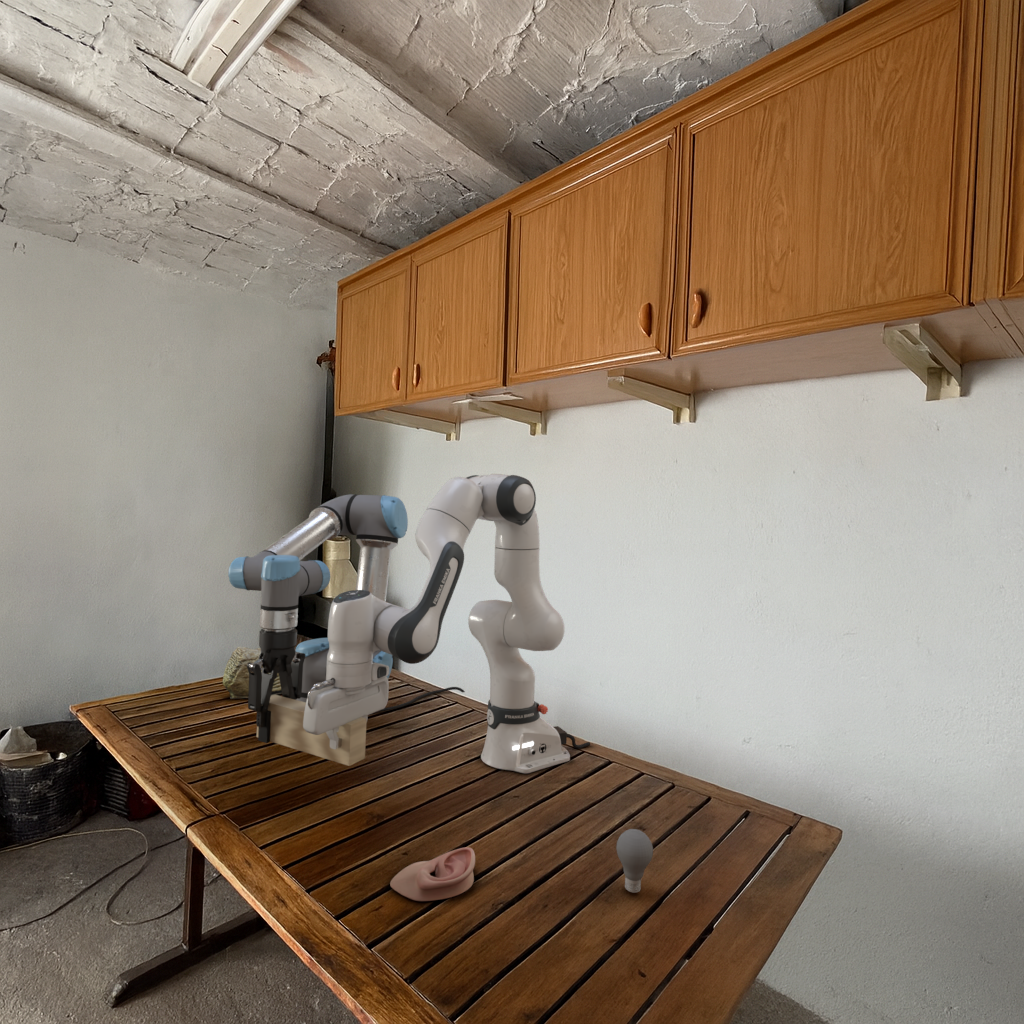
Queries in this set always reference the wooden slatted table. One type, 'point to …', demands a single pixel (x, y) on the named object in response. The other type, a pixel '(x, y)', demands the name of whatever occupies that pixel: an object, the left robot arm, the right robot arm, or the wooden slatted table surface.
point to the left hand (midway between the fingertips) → (274, 737)
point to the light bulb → (634, 857)
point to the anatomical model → (437, 876)
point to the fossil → (243, 673)
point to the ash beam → (292, 734)
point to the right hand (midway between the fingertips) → (346, 742)
